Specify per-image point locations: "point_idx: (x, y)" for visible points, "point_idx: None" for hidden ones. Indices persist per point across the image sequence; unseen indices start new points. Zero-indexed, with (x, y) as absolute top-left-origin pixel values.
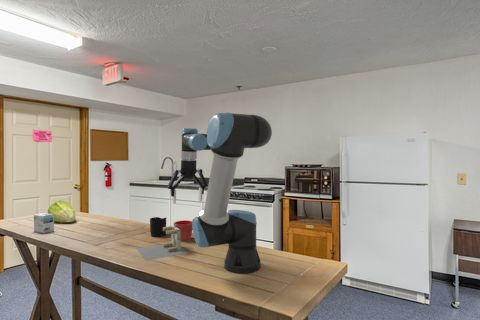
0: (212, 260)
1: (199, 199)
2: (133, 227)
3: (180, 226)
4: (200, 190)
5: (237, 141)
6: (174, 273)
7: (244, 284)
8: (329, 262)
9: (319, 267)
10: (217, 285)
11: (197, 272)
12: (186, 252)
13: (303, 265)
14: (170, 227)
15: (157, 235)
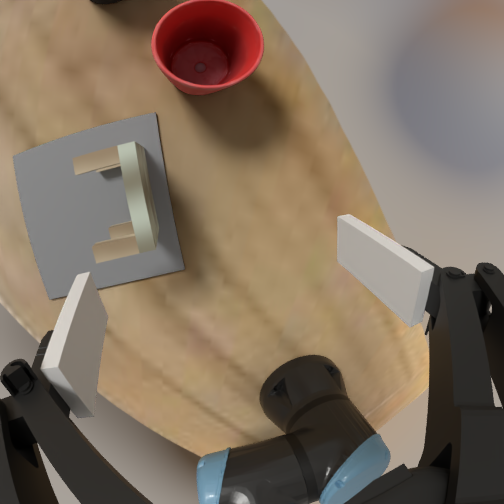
0: (246, 343)
1: (342, 243)
2: None
3: (179, 84)
4: (397, 304)
5: None
6: (139, 398)
7: None
8: (428, 374)
9: (403, 393)
10: (222, 448)
11: (193, 404)
12: (178, 260)
13: (393, 386)
14: (110, 165)
15: (103, 2)
